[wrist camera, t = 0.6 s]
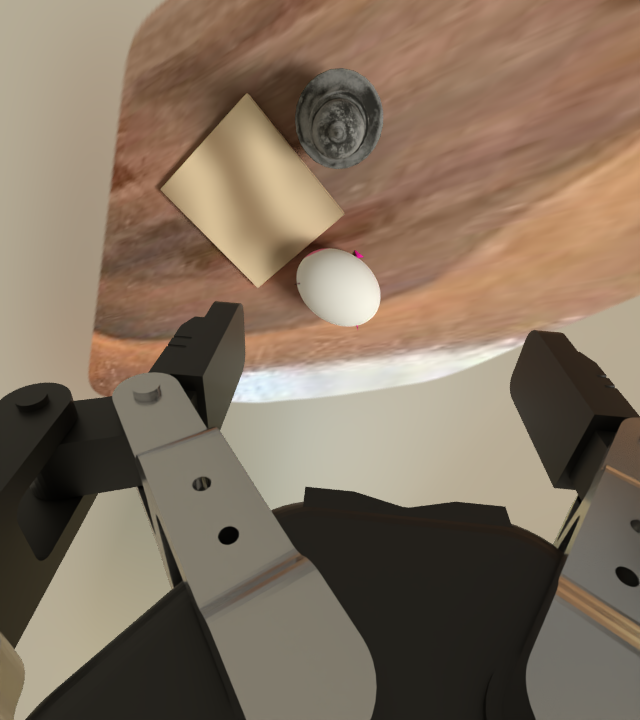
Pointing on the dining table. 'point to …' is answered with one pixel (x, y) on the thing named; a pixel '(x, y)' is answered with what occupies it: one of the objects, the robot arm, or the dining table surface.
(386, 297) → the dining table surface
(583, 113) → the dining table surface
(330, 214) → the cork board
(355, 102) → the grey chess piece
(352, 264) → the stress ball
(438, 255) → the dining table surface
